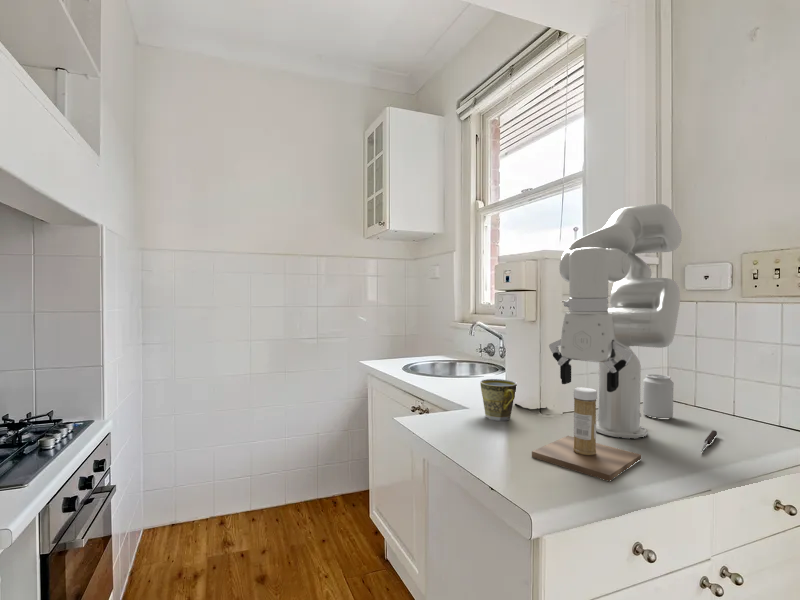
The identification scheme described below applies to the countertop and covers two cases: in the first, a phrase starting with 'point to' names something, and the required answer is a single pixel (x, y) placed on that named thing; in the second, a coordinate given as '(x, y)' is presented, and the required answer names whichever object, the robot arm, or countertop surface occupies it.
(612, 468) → the walnut board
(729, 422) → the countertop surface
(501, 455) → the countertop surface
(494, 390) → the ceramic cup
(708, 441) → the kitchen knife
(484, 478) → the countertop surface
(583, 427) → the sprinkles bottle
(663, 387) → the can
